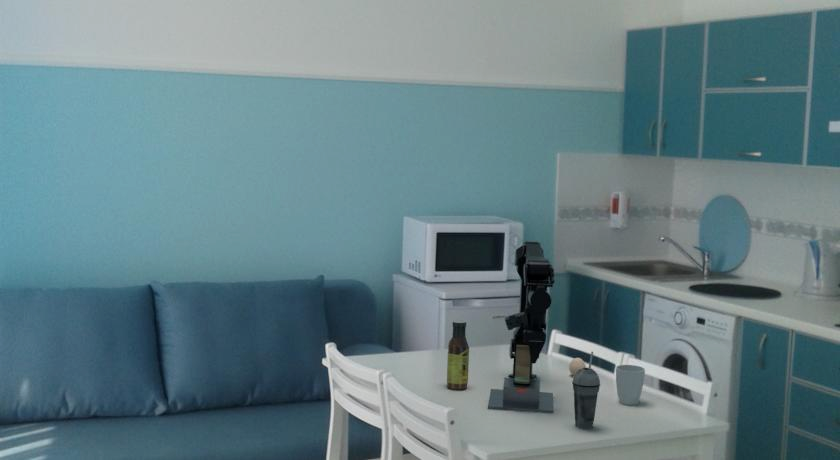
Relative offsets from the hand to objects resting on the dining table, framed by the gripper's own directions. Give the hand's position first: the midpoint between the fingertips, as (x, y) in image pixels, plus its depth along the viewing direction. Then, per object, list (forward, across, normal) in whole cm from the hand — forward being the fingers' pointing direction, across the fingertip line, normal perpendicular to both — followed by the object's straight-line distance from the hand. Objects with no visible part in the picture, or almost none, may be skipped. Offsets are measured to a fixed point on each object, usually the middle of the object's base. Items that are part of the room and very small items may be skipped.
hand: (533, 359), depth 282 cm
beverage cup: (+13, +19, +14) cm, 27 cm away
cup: (+13, -7, +27) cm, 31 cm away
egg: (+13, -33, +14) cm, 38 cm away
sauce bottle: (+13, -11, -22) cm, 28 cm away
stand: (+12, 0, -3) cm, 13 cm away
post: (+8, 0, -3) cm, 8 cm away
